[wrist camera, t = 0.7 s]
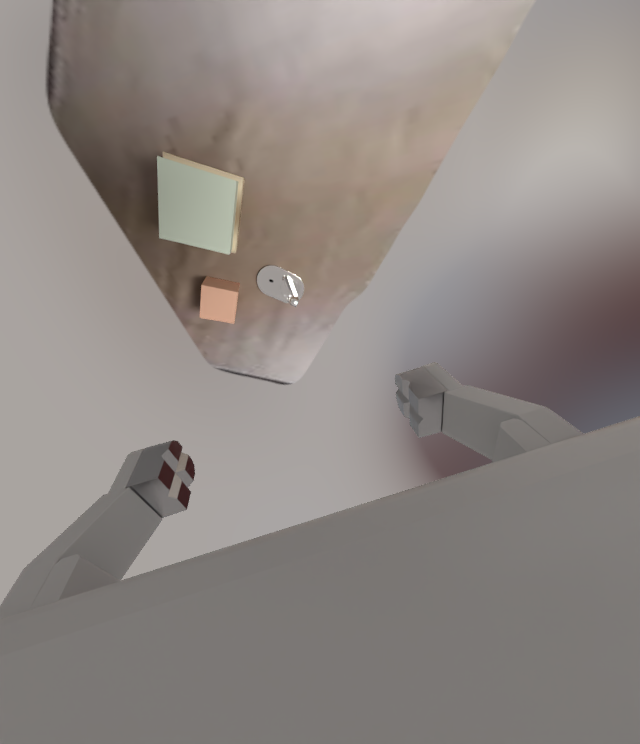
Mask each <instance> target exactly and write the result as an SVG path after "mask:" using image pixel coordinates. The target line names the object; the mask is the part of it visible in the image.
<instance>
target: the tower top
mask: <svg viewBox="0 0 640 744" xmlns="http://www.w3.org/2000/svg"><path fill="white" fill-rule="evenodd" d="M157 174H158V211H159V238H162V239H166V240H170V241H174V242H178V243H183V244H187V245H191V246H195V247H199V248H204V249H208V250H212V251H216V252H221V253H225V254H229V255H230V253H231V251H232V245H233V234H234V224H235V214H236V203H237V193H238V181H235V180H232V179H229V178H226V177H223V176H219V175H216V174H213V173H210V172H207V171H204V170H200V169H197V168H194V167H191V166H188V165H185V164H182V163H178V162H175V161H172V160H169V159H166V158H163V157H159V156H157Z"/></svg>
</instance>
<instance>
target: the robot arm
mask: <svg viewBox="0 0 640 744" xmlns="http://www.w3.org/2000/svg"><path fill="white" fill-rule="evenodd" d="M395 384H396V385H397V387H398V388H399V389H398V391H397V392H396V399H397V403H398V406H399V409H400V411H401V412H402V414H403V415H404V417H406V418H409V419H410V426H411V427H412V429H413V430H414V432H415V433H416V434H417V436H418V437H419V438H421V437H424V436H428V435H432V434H435V433H439V432H442V433H443V434H445V435H447V436H449V437H451V438H453V439H454V440H456V441H458V442H460V443H462V444H464V445H466V446H467V447H469V448H471V449H473V450H475V451H477V452H478V453H480V454H482V455H484V456H486V457H488V458H490V459H491V460H492V463H491V464H488V465H484V466H481V467H478V468H475V469H471V470H468V471H465V472H462V473H459V474H456V475H453V476H449V477H446V478H443V479H440V480H437V481H434V482H430V483H427V484H424V485H421V486H418V487H415V488H412V489H408V490H405V491H402V492H399V493H396V494H393V495H389V496H386V497H383V498H380V499H377V500H374V501H371V502H367V503H364V504H361V505H358V506H355V507H352V508H349V509H345V510H342V511H339V512H336V513H333V514H330V515H327V516H323V517H321V518H317V519H314V520H311V521H308V522H305V523H301V524H298V525H295V526H292V527H289V528H286V529H282V530H279V531H276V532H273V533H270V534H267V535H263V536H260V537H257V538H254V539H251V540H248V541H244V542H241V543H238V544H235V545H232V546H229V547H225V548H222V549H219V550H216V551H213V552H210V553H206V554H203V555H200V556H197V557H194V558H191V559H188V560H185V561H181V562H178V563H175V564H172V565H169V566H165V567H163V568H159V569H156V570H153V571H150V572H147V573H144V574H140V575H137V576H134V577H131V578H128V579H124V580H121V579H122V578H123V576H124V575H125V573H126V572H127V570H128V569H129V567H130V566H131V564H132V563H133V561H134V560H135V559H136V557H137V556H138V554H139V553H140V551H141V550H142V548H143V547H144V545H145V544H146V543H147V541H148V540H149V538H150V537H151V535H152V534H153V532H154V531H155V529H156V528H157V527H158V525H159V524H160V522H161V521H162V518H164V517H167V516H169V515H172V514H175V513H178V512H181V511H184V510H187V506H188V503H189V498H190V494H191V491H190V490H189V488H188V487H189V486H190V484H191V483H192V482H193V480H194V476H195V469H194V464H193V461H192V459H191V458H190V456H189V455H187V454H184V453H182V446H181V445H180V443H179V442H178V441H174V440H173V441H169V442H166V443H163V444H158V445H155V446H151V447H148V448H145V449H141V450H138V451H134V452H131V453H130V454H129V455H128V456H127V458H126V459H125V462H124V463H123V465H122V467H121V469H120V471H119V473H118V475H117V477H116V479H115V481H114V483H113V485H112V487H111V489H110V491H109V493H108V494H105V495H103V496H102V497H101V498H99V499H98V500H97V501H96V502H95V503H94V504H93V505H92V506H91V507H90V508H89V509H88V510H87V511H85V513H83V514H82V515H81V516H80V517H79V518H78V519H77V520H76V521H75V522H74V523H73V524H72V525H70V526H69V527H68V528H67V529H66V530H65V531H64V532H63V533H62V534H61V535H60V536H59V537H58V538H56V539H55V540H54V541H53V542H52V543H51V544H50V545H49V546H48V547H47V548H46V549H45V550H44V551H42V552H41V553H40V554H39V555H38V556H37V557H36V558H35V559H34V560H33V561H32V562H31V563H30V564H28V565H27V566H26V567H25V568H24V569H23V571H22V572H21V574H20V575H19V577H18V579H17V580H16V582H15V584H14V585H13V586H12V588H11V590H10V591H9V593H8V594H7V596H6V598H5V599H4V601H3V603H2V604H1V606H0V744H640V416H639V417H635V418H632V419H629V420H626V421H623V422H620V423H617V424H613V425H610V426H607V427H604V428H601V429H598V430H595V431H592V432H589V433H585V434H583V433H582V432H581V431H579V430H578V429H576V428H575V427H574V426H572V425H571V424H569V423H568V422H567V421H565V420H564V419H563V418H561V417H560V416H558V415H557V414H555V413H554V412H553V411H551V410H550V409H549V408H547V407H544V406H540V405H537V404H533V403H530V402H526V401H522V400H519V399H515V398H512V397H508V396H505V395H501V394H498V393H494V392H490V391H487V390H483V389H480V388H476V387H472V386H468V385H466V386H463V385H461V384H460V383H459V382H458V381H457V380H456V379H455V378H454V377H452V376H451V375H450V374H449V373H448V372H447V371H446V370H445V369H443V368H442V367H441V366H440V365H439V364H438V363H435V362H434V363H431V364H428V365H425V366H422V367H420V368H416V369H413V370H410V371H406V372H403V373H400V374H396V375H395ZM120 580H121V581H120Z"/></svg>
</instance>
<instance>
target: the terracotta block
mask: <svg viewBox="0 0 640 744" xmlns="http://www.w3.org/2000/svg"><path fill="white" fill-rule="evenodd" d="M239 285H240V283H236V282H232V281H227V280H222V279H218V278H213V277H208V276H206V278H205V280H204V281H203V283H202V285H201V302H200V318H204V319H210V320H216V321H222V322H228V323H233V324H234V322H235V316H236V310H237V301H238V293H239Z"/></svg>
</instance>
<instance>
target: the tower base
mask: <svg viewBox="0 0 640 744" xmlns="http://www.w3.org/2000/svg"><path fill="white" fill-rule="evenodd" d="M163 158H166V159H169V160H172V161H175V162H178V163H182V164H185V165H188V166H191V167H194V168H197V169H200V170H204V171H207V172H210V173H213V174H216V175H219V176H223V177H226V178H229V179H232V180H235V181H238V193H237V203H236V214H235V224H234V234H233V245H232V251H231V252H232V253H236V250H237V245H238V236H239V226H240V217H241V208H242V198H243V189H244V180H245V179H244V178H243V177H239V176H236V175H233V174H230V173H227V172H224V171H221V170H218V169H215V168H212V167H209V166H206V165H202V164H199V163H196V162H193V161H190V160H187V159H184V158H181V157H178V156H175V155H172V154H169V153H165V152H163Z"/></svg>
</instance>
